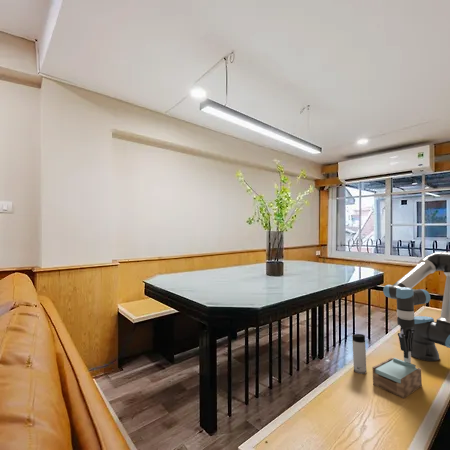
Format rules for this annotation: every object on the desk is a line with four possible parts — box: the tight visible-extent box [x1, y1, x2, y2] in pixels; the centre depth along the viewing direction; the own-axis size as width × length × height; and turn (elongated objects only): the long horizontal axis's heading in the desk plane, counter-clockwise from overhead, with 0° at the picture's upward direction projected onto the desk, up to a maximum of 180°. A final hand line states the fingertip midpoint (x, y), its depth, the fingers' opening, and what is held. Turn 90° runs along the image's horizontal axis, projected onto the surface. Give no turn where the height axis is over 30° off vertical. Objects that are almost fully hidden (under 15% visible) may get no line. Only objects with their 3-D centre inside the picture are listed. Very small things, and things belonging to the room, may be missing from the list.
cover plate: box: [375, 357, 418, 384], centre depth 135 cm, size 17×12×4 cm
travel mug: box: [352, 333, 368, 375], centre depth 149 cm, size 6×7×20 cm
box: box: [371, 357, 423, 400], centre depth 135 cm, size 18×14×8 cm
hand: (407, 363), depth 141 cm, fingers closed
